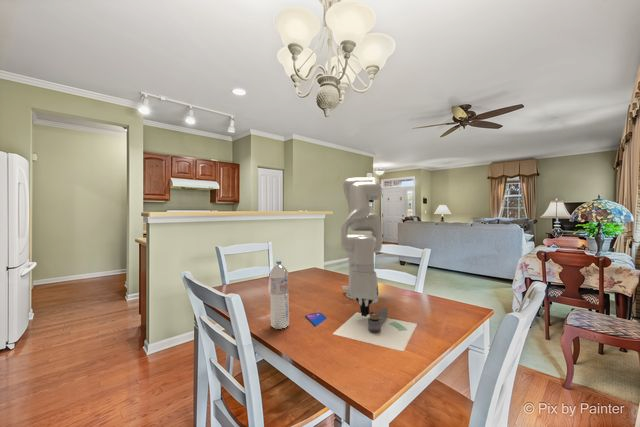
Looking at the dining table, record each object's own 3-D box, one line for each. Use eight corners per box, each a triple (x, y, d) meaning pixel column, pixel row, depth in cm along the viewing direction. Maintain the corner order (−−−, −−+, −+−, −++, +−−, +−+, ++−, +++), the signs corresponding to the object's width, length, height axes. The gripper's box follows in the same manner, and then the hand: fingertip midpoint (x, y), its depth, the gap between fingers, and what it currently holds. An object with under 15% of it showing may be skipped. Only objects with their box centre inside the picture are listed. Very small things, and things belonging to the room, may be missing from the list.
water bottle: (274, 331, 98) (272, 263, 98) (268, 324, 104) (267, 260, 104) (291, 327, 102) (290, 261, 101) (285, 321, 108) (284, 258, 107)
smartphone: (318, 330, 99) (304, 315, 112) (318, 332, 99) (304, 317, 112) (336, 326, 102) (320, 312, 115) (336, 328, 102) (320, 314, 115)
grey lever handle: (378, 333, 91) (378, 317, 91) (366, 330, 94) (366, 314, 94) (390, 317, 105) (390, 303, 105) (379, 315, 107) (379, 301, 107)
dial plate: (332, 338, 93) (332, 333, 93) (356, 315, 112) (356, 311, 112) (403, 356, 81) (403, 350, 81) (417, 327, 100) (417, 323, 100)
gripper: (342, 268, 105) (343, 314, 105) (380, 272, 97) (380, 322, 98) (350, 264, 111) (351, 308, 112) (386, 268, 104) (386, 315, 104)
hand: (364, 315), depth 105 cm, fingers closed
